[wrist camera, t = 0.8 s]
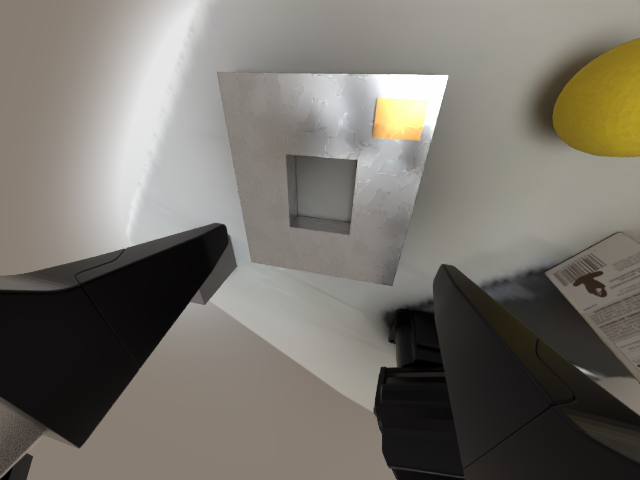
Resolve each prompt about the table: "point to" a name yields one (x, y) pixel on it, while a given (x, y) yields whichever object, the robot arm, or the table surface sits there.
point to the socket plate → (331, 142)
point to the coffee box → (607, 294)
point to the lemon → (603, 105)
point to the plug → (217, 276)
